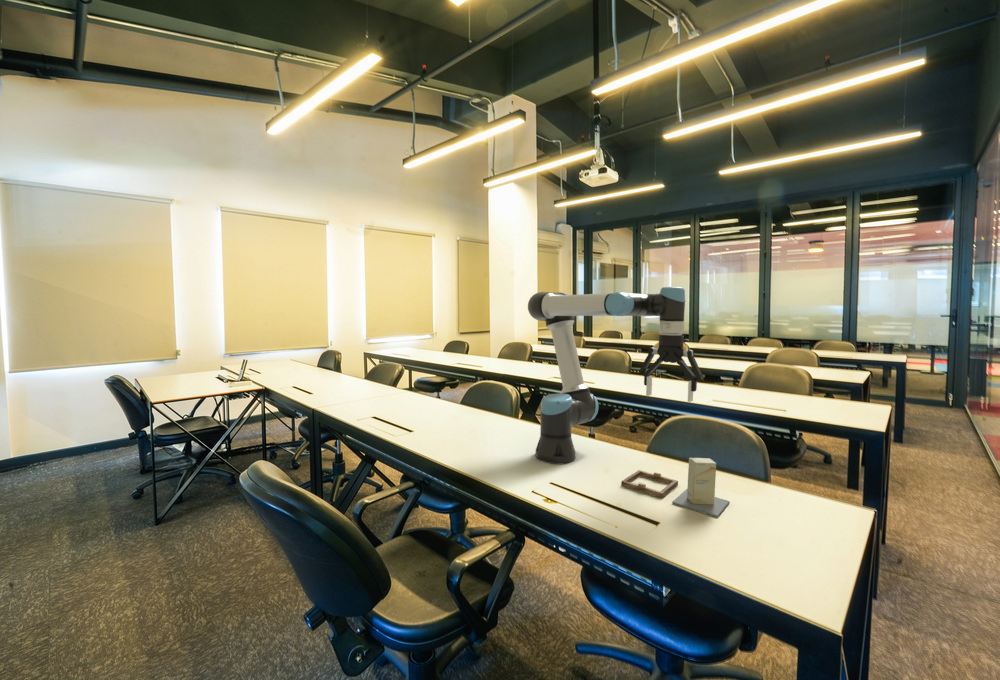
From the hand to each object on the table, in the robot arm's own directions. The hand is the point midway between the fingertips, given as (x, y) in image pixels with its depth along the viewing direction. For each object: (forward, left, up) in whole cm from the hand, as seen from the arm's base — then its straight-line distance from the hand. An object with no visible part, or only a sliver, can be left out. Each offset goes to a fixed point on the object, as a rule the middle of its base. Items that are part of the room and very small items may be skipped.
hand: (668, 398), depth 139 cm
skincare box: (+15, -13, -26) cm, 33 cm away
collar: (-1, -11, -27) cm, 29 cm away
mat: (+15, -13, -27) cm, 33 cm away
